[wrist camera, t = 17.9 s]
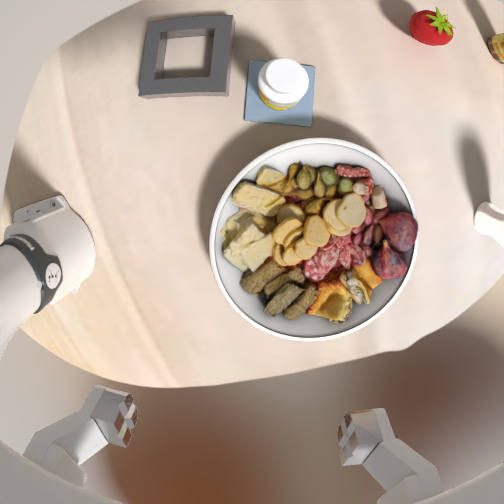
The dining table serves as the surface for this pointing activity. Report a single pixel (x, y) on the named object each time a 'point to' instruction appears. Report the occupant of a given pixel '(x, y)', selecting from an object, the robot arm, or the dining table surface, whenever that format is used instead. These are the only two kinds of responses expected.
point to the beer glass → (490, 221)
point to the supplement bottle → (282, 83)
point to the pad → (262, 113)
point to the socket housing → (187, 86)
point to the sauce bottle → (497, 47)
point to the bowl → (314, 239)
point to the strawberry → (431, 28)
